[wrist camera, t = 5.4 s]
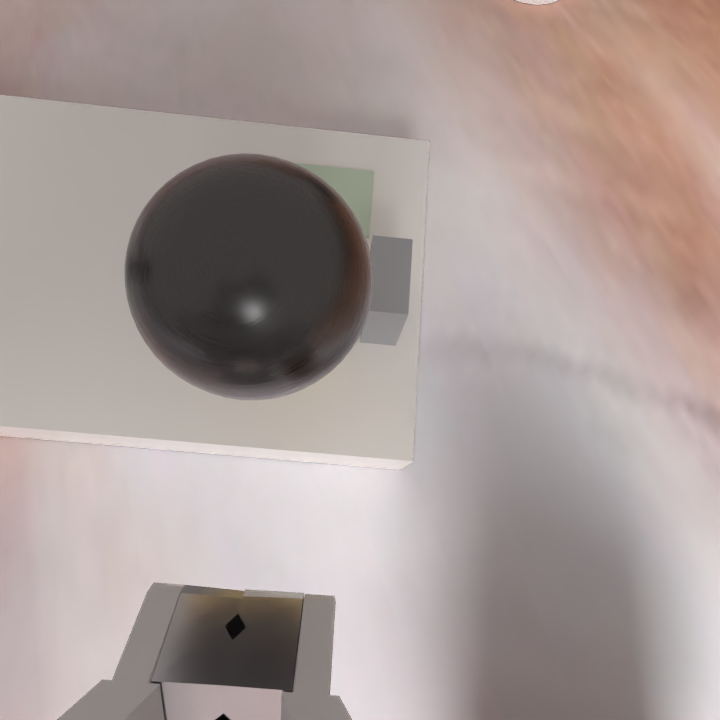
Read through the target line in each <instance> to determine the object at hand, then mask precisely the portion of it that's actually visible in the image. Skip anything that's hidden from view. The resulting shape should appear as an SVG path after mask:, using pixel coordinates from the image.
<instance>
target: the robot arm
mask: <svg viewBox="0 0 720 720" xmlns="http://www.w3.org/2000/svg"><path fill="white" fill-rule="evenodd" d="M335 603H336V602H335V596H328V595H312V594H305V597H304V593H294V592H277V591H259V590H245V591H241V590H230V589H220V588H210V587H200V586H189V585H179V584H166V583H153V585H152V586H151V587H150V589H149V590H148V592H147V594H146V596H145V599H144V601H143V604H142V606H141V609H140V611H139V614H138V616H137V619H136V621H135V624H134V626H133V629H132V631H131V634H130V636H129V639H128V641H127V644H126V646H125V649H124V651H123V654H122V656H121V659H120V661H119V664H118V666H117V669H116V671H115V674H114V676H113V679H112V680H101V681H100V682H99V683H98V684H97V685H96V686H95V687H93V688H92V689H91V690H90V691H89V692H88V693H87V694H85V695H84V696H83V697H82V698H81V699H80V700H79V701H78V702H76V703H75V704H74V705H73V706H72V707H71V708H70V709H69V710H67V711H66V712H65V713H64V714H63V715H62V716H61V717H60V718H58V719H57V720H352V719H351V717H350V715H349V713H348V711H347V710H346V708H345V706H344V704H343V702H342V700H341V698H340V696H335V695H330V684H331V668H332V652H333V635H334V619H335Z"/></svg>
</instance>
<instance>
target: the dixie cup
mask: <svg viewBox="0 0 720 720" xmlns="http://www.w3.org/2000/svg"><path fill="white" fill-rule="evenodd" d="M516 1H519V2H522V3H527V4H535V5H541V4H549V3H553V2H556V1H558V0H516Z"/></svg>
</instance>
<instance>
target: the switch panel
mask: <svg viewBox="0 0 720 720" xmlns="http://www.w3.org/2000/svg"><path fill="white" fill-rule="evenodd" d="M429 145H430V141H426V140H417V139H407V138H398V137H389V136H379V135H370V134H361V133H352V132H342V131H333V130H324V129H315V128H305V127H296V126H287V125H277V124H268V123H259V122H250V121H240V120H231V119H222V118H213V117H203V116H194V115H185V114H175V113H166V112H157V111H148V110H138V109H129V108H120V107H111V106H101V105H92V104H83V103H73V102H64V101H55V100H46V99H36V98H27V97H18V96H9V95H0V436H6V437H18V438H30V439H42V440H53V441H65V442H77V443H89V444H101V445H112V446H124V447H136V448H148V449H159V450H171V451H183V452H195V453H207V454H218V455H230V456H242V457H254V458H266V459H277V460H289V461H301V462H313V463H324V464H336V465H348V466H360V467H372V468H383V469H395V470H402V469H403V468H405V467H406V466H407V465H409V464H410V463H412V462H413V458H414V439H415V419H416V399H417V380H418V360H419V341H420V321H421V302H422V282H423V262H424V243H425V223H426V204H427V184H428V164H429ZM241 153H247V154H262V155H268V156H273V157H277V158H280V159H284V160H287V161H290V162H292V163H295V164H297V165H299V166H301V167H303V168H305V169H307V170H309V171H310V172H312V173H314V174H315V175H317V176H318V177H320V178H321V179H323V180H324V181H325V182H326V183H327V184H329V185H330V186H331V187H332V188H333V189H335V191H336V192H337V193H338V194H339V195H340V196H341V197H342V198H343V199H344V200H345V201H346V203H347V204H348V206H349V207H350V209H351V210H352V211H353V213H354V214H355V216H356V218H357V220H358V222H359V224H360V225H361V227H362V230H363V232H364V235H365V238H366V240H367V243H368V247H369V251H370V255H371V260H372V270H373V293H372V299H371V306H370V310H369V313H368V317H367V320H366V323H365V325H364V327H363V330H362V332H361V334H360V336H359V338H358V340H357V341H356V343H355V344H354V346H353V348H352V349H351V351H350V352H349V353H348V354H347V356H346V357H345V358H344V359H343V360H342V362H341V363H340V364H339V365H337V366H336V367H335V368H334V369H333V370H332V371H331V372H330V373H329V374H327V375H326V376H324V377H323V378H322V379H320V380H319V381H318V382H316V383H314V384H312V385H310V386H308V387H307V388H305V389H303V390H300V391H298V392H295V393H293V394H290V395H287V396H283V397H278V398H274V399H266V400H237V399H231V398H225V397H222V396H218V395H215V394H211V393H208V392H206V391H204V390H201V389H199V388H197V387H194V386H192V385H191V384H189V383H187V382H186V381H184V380H182V379H181V378H179V377H178V376H177V375H175V374H174V373H173V372H171V371H170V370H169V369H168V368H166V367H165V366H164V365H163V364H162V362H161V361H160V360H159V359H158V358H157V357H156V356H155V355H154V354H153V352H152V351H151V350H150V349H149V347H148V346H147V345H146V343H145V341H144V340H143V338H142V336H141V334H140V333H139V331H138V329H137V327H136V324H135V322H134V319H133V317H132V315H131V311H130V308H129V304H128V300H127V296H126V288H125V259H126V251H127V247H128V243H129V239H130V236H131V233H132V230H133V228H134V226H135V223H136V221H137V219H138V217H139V215H140V214H141V212H142V210H143V209H144V207H145V205H146V204H147V203H148V202H149V200H150V199H151V198H152V197H153V195H154V194H155V193H156V192H157V191H158V190H159V189H160V188H161V187H162V186H163V185H164V184H165V183H166V182H167V181H169V180H170V179H172V178H173V177H174V176H176V175H177V174H178V173H180V172H182V171H184V170H185V169H187V168H189V167H191V166H193V165H195V164H197V163H200V162H203V161H205V160H208V159H211V158H215V157H219V156H224V155H230V154H241Z"/></svg>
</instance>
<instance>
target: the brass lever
mask: <svg viewBox="0 0 720 720" xmlns="http://www.w3.org/2000/svg"><path fill="white" fill-rule="evenodd" d="M125 288H126V296H127V300H128V304H129V308H130V311H131V315H132V317H133V319H134V322H135V324H136V327H137V329H138V331H139V333H140V334H141V336H142V338H143V340H144V341H145V343H146V345H147V346H148V347H149V349H150V350H151V351H152V352H153V354H154V355H155V356H156V357H157V358H158V359H159V360H160V361H161V362H162V364H163V365H164V366H165V367H166V368H168V369H169V370H170V371H171V372H173V373H174V374H175V375H177V376H178V377H179V378H181V379H182V380H184V381H186V382H187V383H189V384H191V385H192V386H194V387H197V388H199V389H201V390H204V391H206V392H208V393H211V394H215V395H218V396H222V397H225V398H231V399H237V400H266V399H274V398H278V397H283V396H287V395H290V394H293V393H295V392H298V391H300V390H303V389H305V388H307V387H308V386H310V385H312V384H314V383H316V382H318V381H319V380H320V379H322V378H323V377H324V376H326V375H327V374H329V373H330V372H331V371H332V370H333V369H334V368H335V367H336V366H337V365H339V364H340V363H341V362H342V360H343V359H344V358H345V357H346V356H347V354H348V353H349V352H350V351H351V349H352V348H353V346H354V344H355V343H356V341H357V340H358V338H359V336H360V334H361V332H362V330H363V327H364V325H365V323H366V320H367V317H368V313H369V310H370V306H371V299H372V293H373V270H372V260H371V255H370V251H369V247H368V243H367V240H366V238H365V235H364V232H363V230H362V227H361V225H360V224H359V222H358V220H357V218H356V216H355V214H354V213H353V211H352V210H351V209H350V207H349V206H348V204H347V203H346V201H345V200H344V199H343V198H342V197H341V196H340V195H339V194H338V193H337V192H336V191H335V189H333V188H332V187H331V186H330V185H329V184H327V183H326V182H325V181H324V180H323V179H321V178H320V177H318V176H317V175H315V174H314V173H312V172H310V171H309V170H307V169H305V168H303V167H301V166H299V165H297V164H295V163H292V162H290V161H287V160H284V159H280V158H277V157H273V156H268V155H262V154H247V153H241V154H230V155H224V156H219V157H215V158H211V159H208V160H205V161H203V162H200V163H197V164H195V165H193V166H191V167H189V168H187V169H185V170H184V171H182V172H180V173H178V174H177V175H176V176H174V177H173V178H172V179H170V180H169V181H167V182H166V183H165V184H164V185H163V186H162V187H161V188H160V189H159V190H158V191H157V192H156V193H155V194H154V195H153V197H152V198H151V199H150V200H149V202H148V203H147V204H146V205H145V207H144V209H143V210H142V212H141V214H140V215H139V217H138V219H137V221H136V223H135V226H134V228H133V230H132V233H131V236H130V239H129V243H128V247H127V251H126V259H125Z"/></svg>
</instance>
